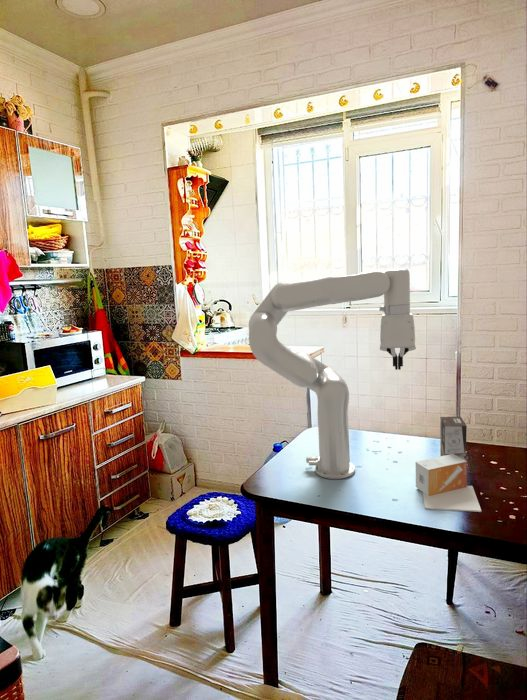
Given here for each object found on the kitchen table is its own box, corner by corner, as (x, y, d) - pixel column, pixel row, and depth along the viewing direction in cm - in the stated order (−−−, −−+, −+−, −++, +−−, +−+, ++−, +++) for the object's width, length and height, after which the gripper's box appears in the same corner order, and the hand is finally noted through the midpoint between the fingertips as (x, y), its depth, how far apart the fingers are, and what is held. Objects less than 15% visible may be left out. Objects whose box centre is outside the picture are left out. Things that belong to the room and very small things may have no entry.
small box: (428, 470, 137) (467, 461, 141) (414, 461, 143) (453, 452, 147) (428, 497, 139) (467, 487, 142) (415, 487, 145) (452, 478, 148)
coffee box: (466, 477, 150) (467, 426, 146) (444, 476, 151) (444, 425, 148) (461, 464, 158) (461, 415, 155) (439, 463, 160) (439, 415, 157)
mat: (425, 508, 133) (425, 507, 133) (421, 484, 147) (421, 483, 146) (481, 512, 130) (481, 510, 130) (472, 487, 143) (472, 485, 143)
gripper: (371, 312, 149) (372, 371, 153) (423, 310, 145) (424, 371, 149) (372, 309, 156) (373, 366, 160) (422, 307, 153) (422, 365, 156)
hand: (397, 368), depth 154 cm, fingers closed
